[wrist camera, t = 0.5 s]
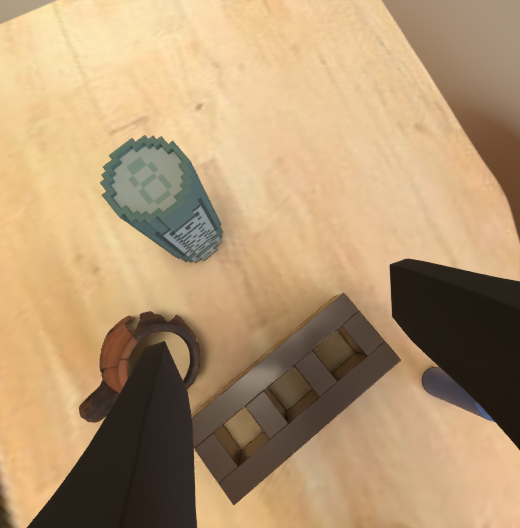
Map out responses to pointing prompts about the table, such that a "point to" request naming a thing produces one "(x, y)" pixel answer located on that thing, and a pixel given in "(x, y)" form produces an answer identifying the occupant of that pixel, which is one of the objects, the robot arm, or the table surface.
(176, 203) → the can
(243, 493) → the holder
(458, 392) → the handle
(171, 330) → the brown open ring
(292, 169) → the table surface
